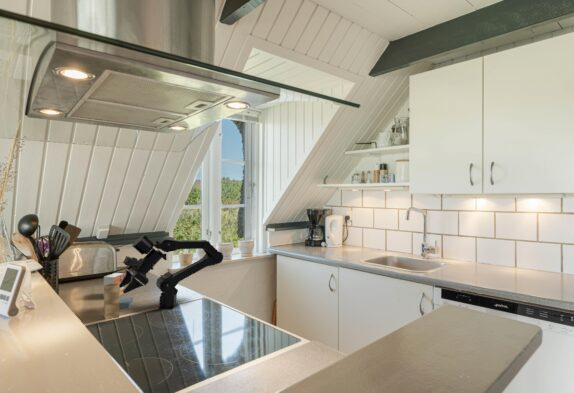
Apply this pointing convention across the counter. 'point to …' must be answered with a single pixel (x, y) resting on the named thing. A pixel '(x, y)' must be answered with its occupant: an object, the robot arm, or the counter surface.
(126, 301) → the slate base block
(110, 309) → the oak pillar
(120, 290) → the small box
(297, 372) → the counter surface
